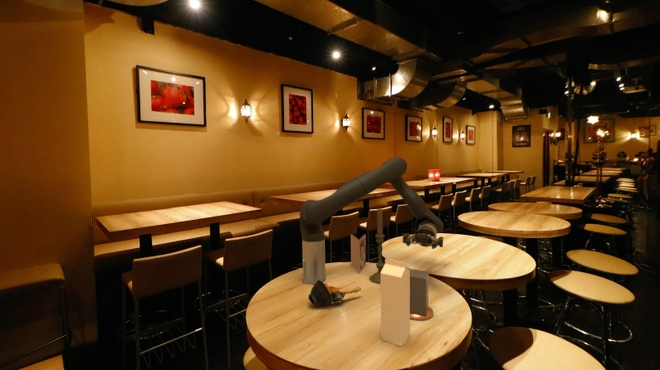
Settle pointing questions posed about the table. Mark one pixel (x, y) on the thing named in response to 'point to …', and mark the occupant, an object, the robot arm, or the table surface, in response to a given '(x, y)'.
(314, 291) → the fried shrimp in bowl
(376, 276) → the candlestick holder
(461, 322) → the table surface
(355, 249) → the greeting card
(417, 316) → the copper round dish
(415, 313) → the grey rectangular block
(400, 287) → the milk
